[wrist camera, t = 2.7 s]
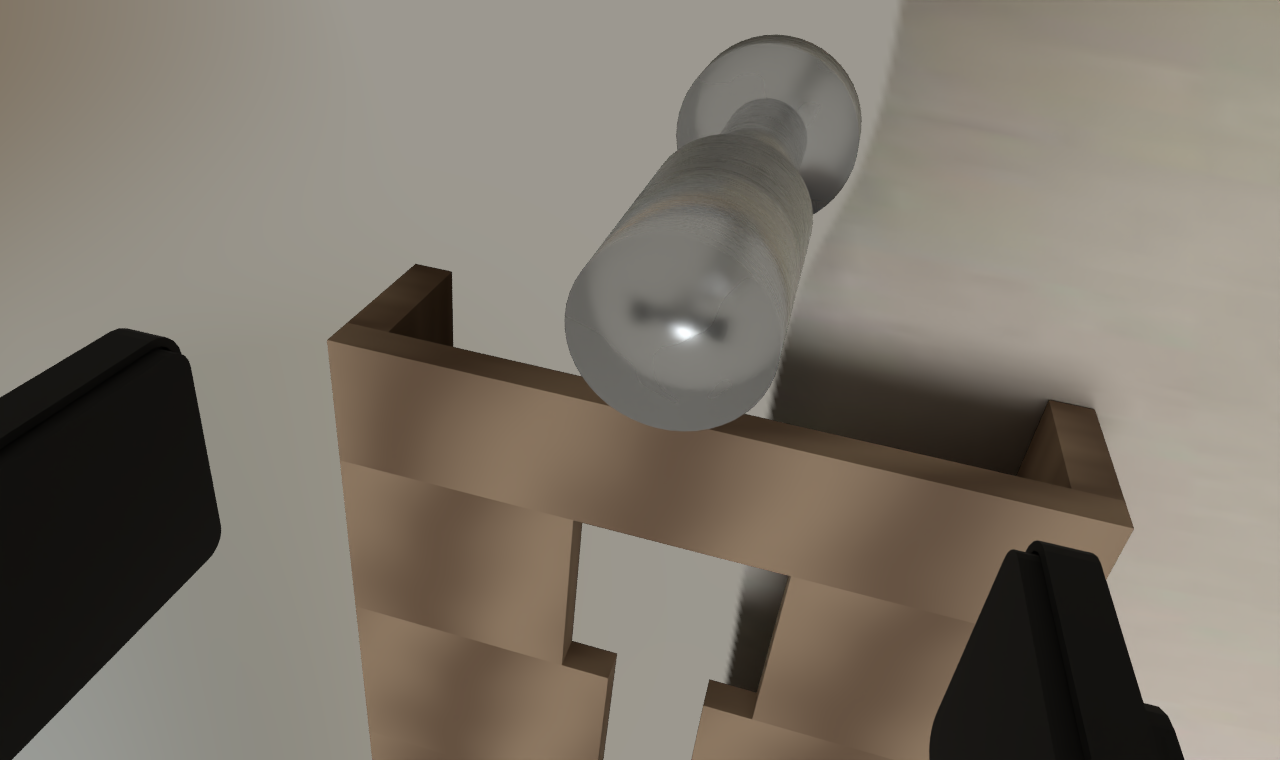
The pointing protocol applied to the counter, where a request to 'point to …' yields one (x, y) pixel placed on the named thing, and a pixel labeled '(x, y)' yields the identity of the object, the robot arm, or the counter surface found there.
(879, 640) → the keyhole plate
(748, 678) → the counter surface
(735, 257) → the keyhole bolt
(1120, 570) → the counter surface
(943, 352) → the counter surface
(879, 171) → the counter surface
